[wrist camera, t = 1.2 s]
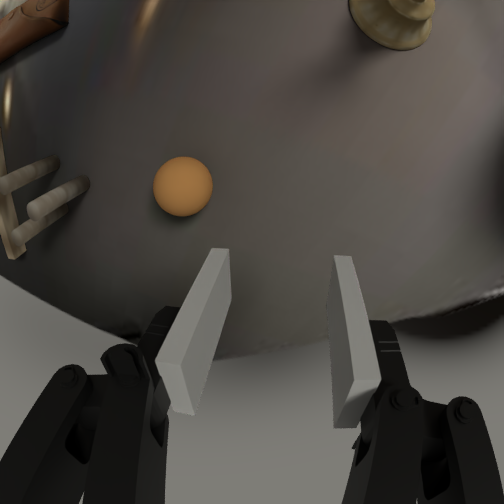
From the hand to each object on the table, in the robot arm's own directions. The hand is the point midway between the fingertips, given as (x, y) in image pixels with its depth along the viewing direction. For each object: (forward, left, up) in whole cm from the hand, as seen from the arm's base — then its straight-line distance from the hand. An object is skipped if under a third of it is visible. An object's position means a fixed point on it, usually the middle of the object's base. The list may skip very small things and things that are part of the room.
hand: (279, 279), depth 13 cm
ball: (0, -10, -14) cm, 17 cm away
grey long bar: (0, -40, -17) cm, 44 cm away
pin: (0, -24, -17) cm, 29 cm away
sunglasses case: (-24, -34, -17) cm, 45 cm away
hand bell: (-18, +10, -17) cm, 27 cm away
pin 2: (+3, -28, -17) cm, 33 cm away
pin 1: (-3, -28, -17) cm, 33 cm away
